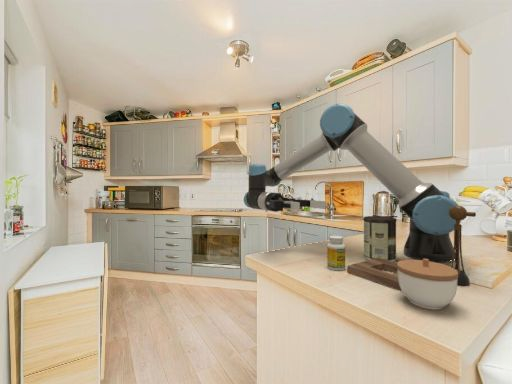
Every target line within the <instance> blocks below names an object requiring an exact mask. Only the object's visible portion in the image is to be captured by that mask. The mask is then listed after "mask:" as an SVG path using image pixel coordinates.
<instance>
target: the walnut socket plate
mask: <svg viewBox="0 0 512 384" xmlns="http://www.w3.org/2000/svg"><path fill="white" fill-rule="evenodd" d="M346 267H347V273H348V274H351V275H353V276H356V277H360V278H363V279H365V280H368V281H371V282H373V283H377V284H380V285H382V286H385V287H389V288H392V289H394V290H396V289H397V290H398V291H399V290H400V291H401V288H400V286H399V282H398V276H397V262H396V261H395V262H393V261H389V260H385V259H381V258H375V259H371V260H368V259H366V260H364V261H360V262H356V263H352V264H349V265H347V266H346ZM385 270H386V271H385ZM388 271H389V272H388ZM392 272H393V273H392ZM401 292H402V291H401Z"/></svg>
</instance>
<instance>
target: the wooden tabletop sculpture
mask: <svg viewBox="0 0 512 384" xmlns="http://www.w3.org/2000/svg"><path fill="white" fill-rule="evenodd" d="M449 216H450V217H451V218H452V219H454V220H456V224H454V231H453V247H454V251H453V260H452V262H451V266H450V267H452V268H454V269H455V270H457V271H458V278H457V287H469V286H470V279H469V276H468V275H467V274H466V272H465V268H464V267H465V266H464V263H463V251H462V225H463V224H461V222H460V220H461V221H463V220H465V219H466V218H467V217H470V218H471V217H474V218H475V217H476V216H477V213H476V212H473V211H467V209H466V208H465V207H464V206H461V205H459V204H458V205H457V206H453V207H451V208H450V210H449ZM454 258H455V261H454ZM454 263H455V264H454ZM460 263H461V265H460Z"/></svg>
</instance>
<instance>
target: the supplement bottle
mask: <svg viewBox="0 0 512 384" xmlns="http://www.w3.org/2000/svg"><path fill="white" fill-rule="evenodd" d="M328 241H329V242H328V243H327V245H326V262H327V263H326V264H327V266H326V267H327V268H328V269H330V270H333V271H343V270H345V269H346V245H345V243H344V237H343V236H341V235H330V236H329V238H328Z"/></svg>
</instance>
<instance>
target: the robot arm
mask: <svg viewBox="0 0 512 384" xmlns="http://www.w3.org/2000/svg"><path fill="white" fill-rule="evenodd" d="M319 126H320V129H321V135H320V136H318V137H317V138H315V139H314V140H312V141H311V142H309V143H307V144H306V145H305V146H303V147H302V148H300V149H298V150H297V151H295V152H294V153H292V154H291V155H290V156H288V157H286V158H285V159H283V160H282V161H280V162H279V163H277V164H276V165H274V166H272V167H271V168H269V169H267V166H266V165H265V164H263V163H253V164H252V163H251V164H250V165H249V168H248V191H247V192H246V193H245V194H244V196H243V203H244V205H245V206H246V207H247V208H248V209H249V208H250V209H253V210H262V211H265V212H266V213H268V212H274V213H275V212H283V211H284V210H287V211H295V212H300V207H302V208H303V207H304V208H305V207H306V208H310V209H312V208H313V209H318V210H319V209H320V210H326V209H327V201H326V200H325V201H324V200H315V199H314V198H310V199H295V198H289V197H284V196H283V195H282V194H281V193H280V192H271V191H268V192H267V191H266V190H267V187H276V186H279V185H280V183H282V181H283V180H285V179H286V178H288V177H289V176H292V175H293V174H295V173H296V172H298V171H299V170H301V169H303V168H304V167H306V166H308V165H309V164H312V162H314V161H316V160H317V159H320V158H321V157H322V156H324V155H325V154H328V153H329V152H335V151H337V150H338V149H340V150H343V151H346V150H347V151H348V152H349V153H350V154H352V156H353V157H354V158H355V159H357V161H358V162H360V163H361V165H362V166H363V167H364V168H366V169H367V170H368V172H370V173H371V174H372V175H373V177H375V178H376V179H377V181H378V182H380V183H381V184H382V185H383V186H384V187H385V188H386V189H387V190H388V191H389V192H390V193H391V194H392V195H393V196H394V197H395V198H396V199H397V200H398V201H399V202H398V208H399V209H400V210H401V211H402V212H403V213H404V215H406V216H407V217H408V218H409V233H408V236H407V239H406V240H405V244H404V247H403V254H404V255H405V256H407V257H409V258H412V259H415V260H423V259H429V261H430V262H436V263H448V262H447V261H450V260H453V251H454V244H453V243H452V240H451V237H450V233H452V232H454V224H456V220H454V219H452V218H451V217H450V216H449V210H450V208H451V207H453V206H457V205H458V206H459V204H458V203H457V202H456V201H455V200H454V199H452V198H451V197H450V193H449V192H448V191H443V190H440V189H439V188H438V187H436V186H435V184H433V183H432V182H423V181H422V180H421V179H419V178H418V177H417V176H416V175H415V174H414V173H413V172H412V171H411V170H410V169H409V168H407V167H406V165H404V163H402V162H401V161H400V160H399V159H398V158H397V157H396V156H395V155H393V154H392V153H391V152H390V150H388V149H387V148H386V147H385V146H384V145H383V144H382V143H380V142H379V140H377V139H376V138H375V137H374V136H373V135H372V134H370V133H369V132H368V124H367V123H366V122H365V121H363V119H361V118H360V117H359V116H358V115H357V114H356V113H355V111H354V110H353V108H352V107H350V106H349V105H348V104H346V103H335V104H332V105H330V106H328V107H326V109H324V111H323V112H322V114H321V116H320V119H319ZM461 222H462V220H460V223H461ZM454 259H455V258H454Z"/></svg>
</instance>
